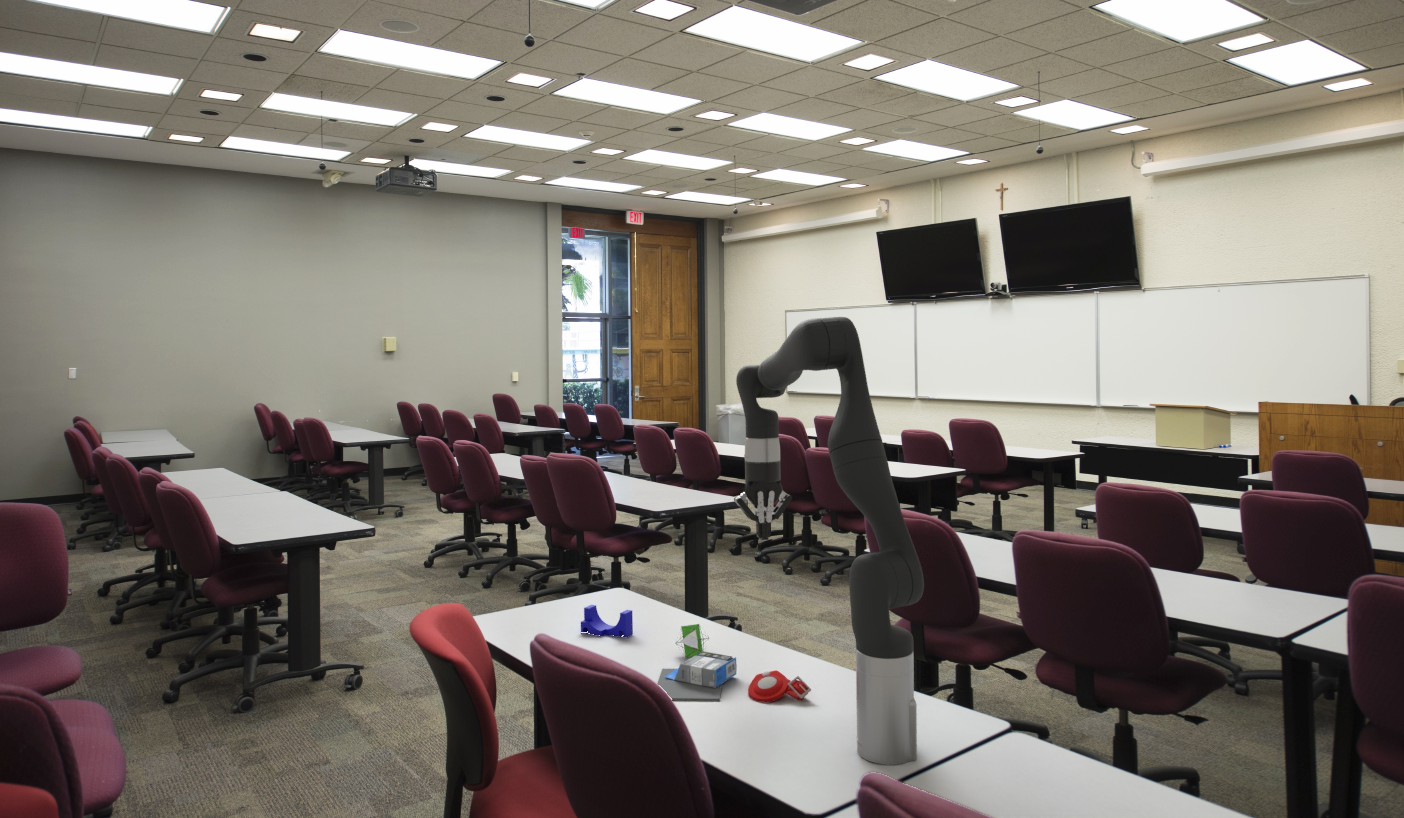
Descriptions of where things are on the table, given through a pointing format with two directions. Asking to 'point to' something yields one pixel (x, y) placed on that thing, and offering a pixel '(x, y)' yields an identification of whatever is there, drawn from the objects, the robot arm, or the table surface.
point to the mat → (687, 689)
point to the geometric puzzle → (692, 640)
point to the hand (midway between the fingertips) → (763, 539)
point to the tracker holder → (776, 687)
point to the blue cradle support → (599, 627)
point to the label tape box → (706, 669)
